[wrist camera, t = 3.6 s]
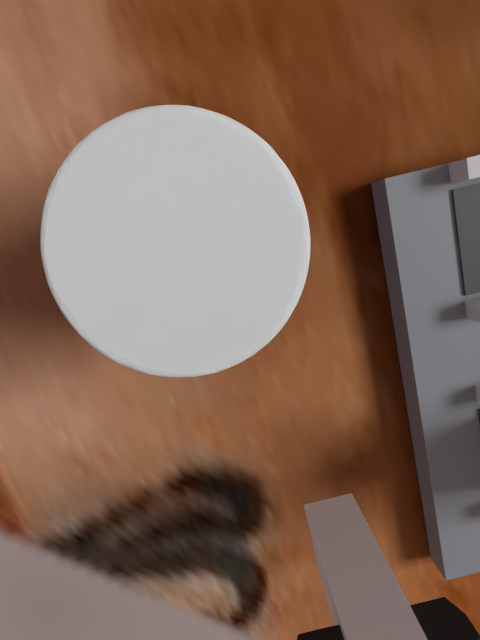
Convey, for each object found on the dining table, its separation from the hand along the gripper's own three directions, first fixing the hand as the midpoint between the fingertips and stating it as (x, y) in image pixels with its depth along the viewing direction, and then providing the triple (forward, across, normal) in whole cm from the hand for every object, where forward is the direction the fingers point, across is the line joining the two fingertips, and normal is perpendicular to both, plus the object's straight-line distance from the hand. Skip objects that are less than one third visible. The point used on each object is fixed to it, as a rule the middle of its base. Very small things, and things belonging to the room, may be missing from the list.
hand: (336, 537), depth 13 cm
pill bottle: (+4, -2, +10) cm, 10 cm away
